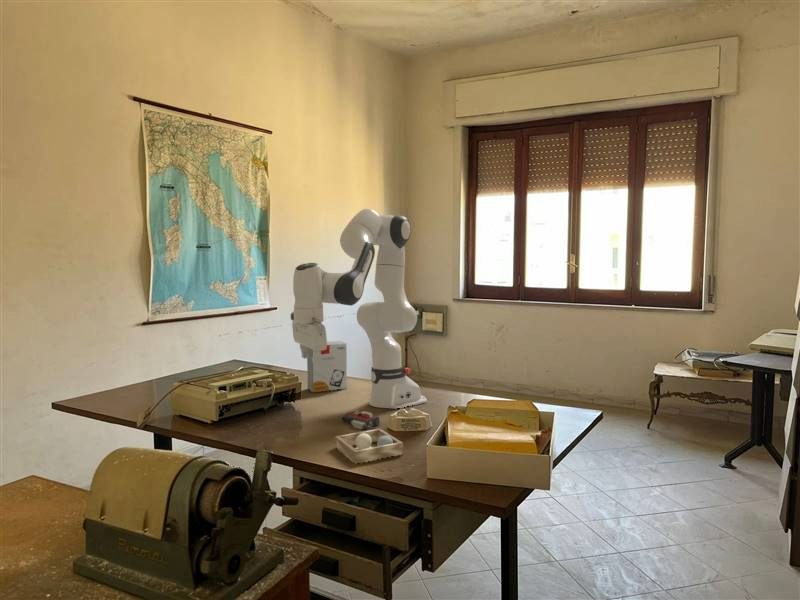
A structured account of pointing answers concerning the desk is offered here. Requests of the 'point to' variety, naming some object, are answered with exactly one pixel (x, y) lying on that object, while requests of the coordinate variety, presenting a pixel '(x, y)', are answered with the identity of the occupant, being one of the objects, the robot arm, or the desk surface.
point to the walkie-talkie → (361, 420)
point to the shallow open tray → (369, 454)
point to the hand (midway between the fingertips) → (310, 360)
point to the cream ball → (363, 441)
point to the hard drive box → (328, 368)
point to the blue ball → (384, 440)
